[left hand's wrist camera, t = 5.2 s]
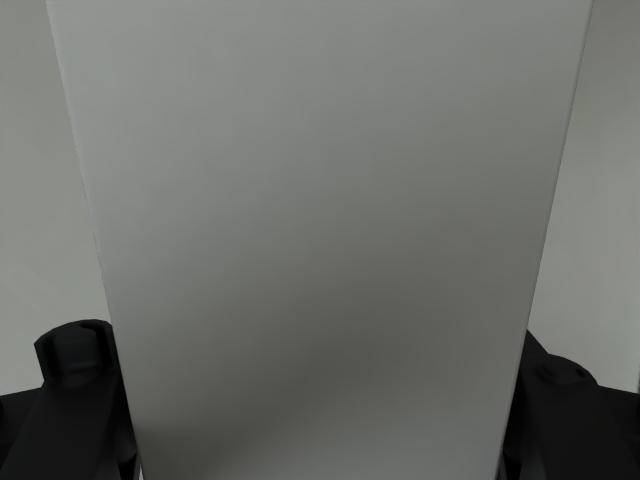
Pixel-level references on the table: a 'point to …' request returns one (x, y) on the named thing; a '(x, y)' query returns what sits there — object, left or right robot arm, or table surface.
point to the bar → (319, 222)
